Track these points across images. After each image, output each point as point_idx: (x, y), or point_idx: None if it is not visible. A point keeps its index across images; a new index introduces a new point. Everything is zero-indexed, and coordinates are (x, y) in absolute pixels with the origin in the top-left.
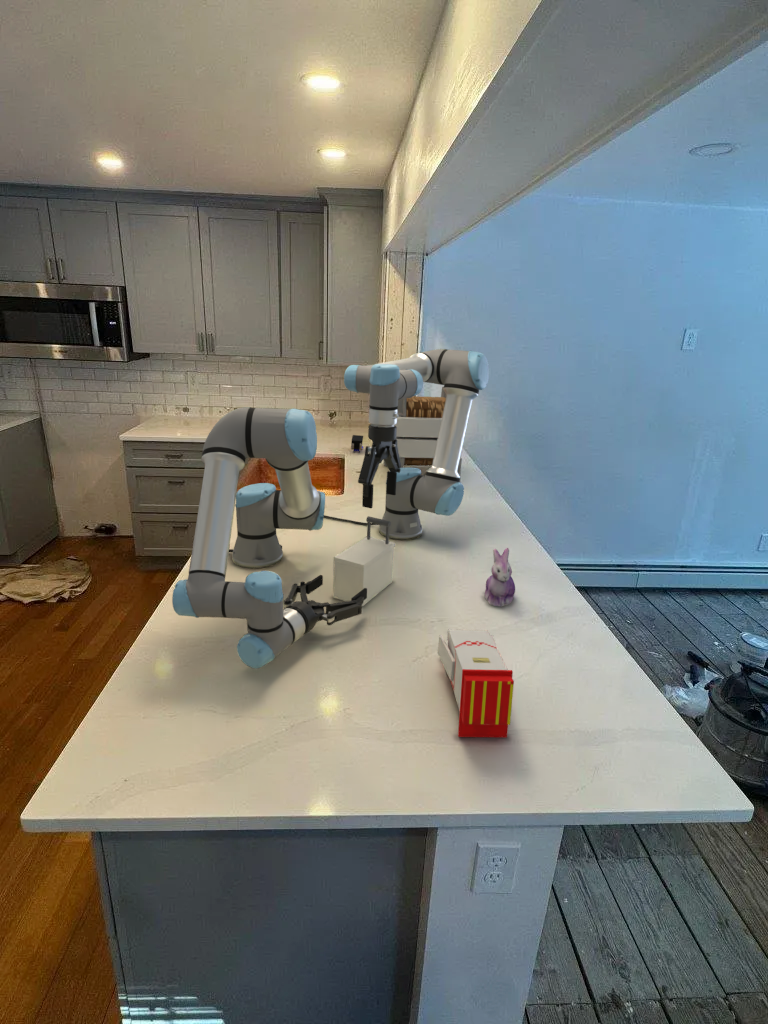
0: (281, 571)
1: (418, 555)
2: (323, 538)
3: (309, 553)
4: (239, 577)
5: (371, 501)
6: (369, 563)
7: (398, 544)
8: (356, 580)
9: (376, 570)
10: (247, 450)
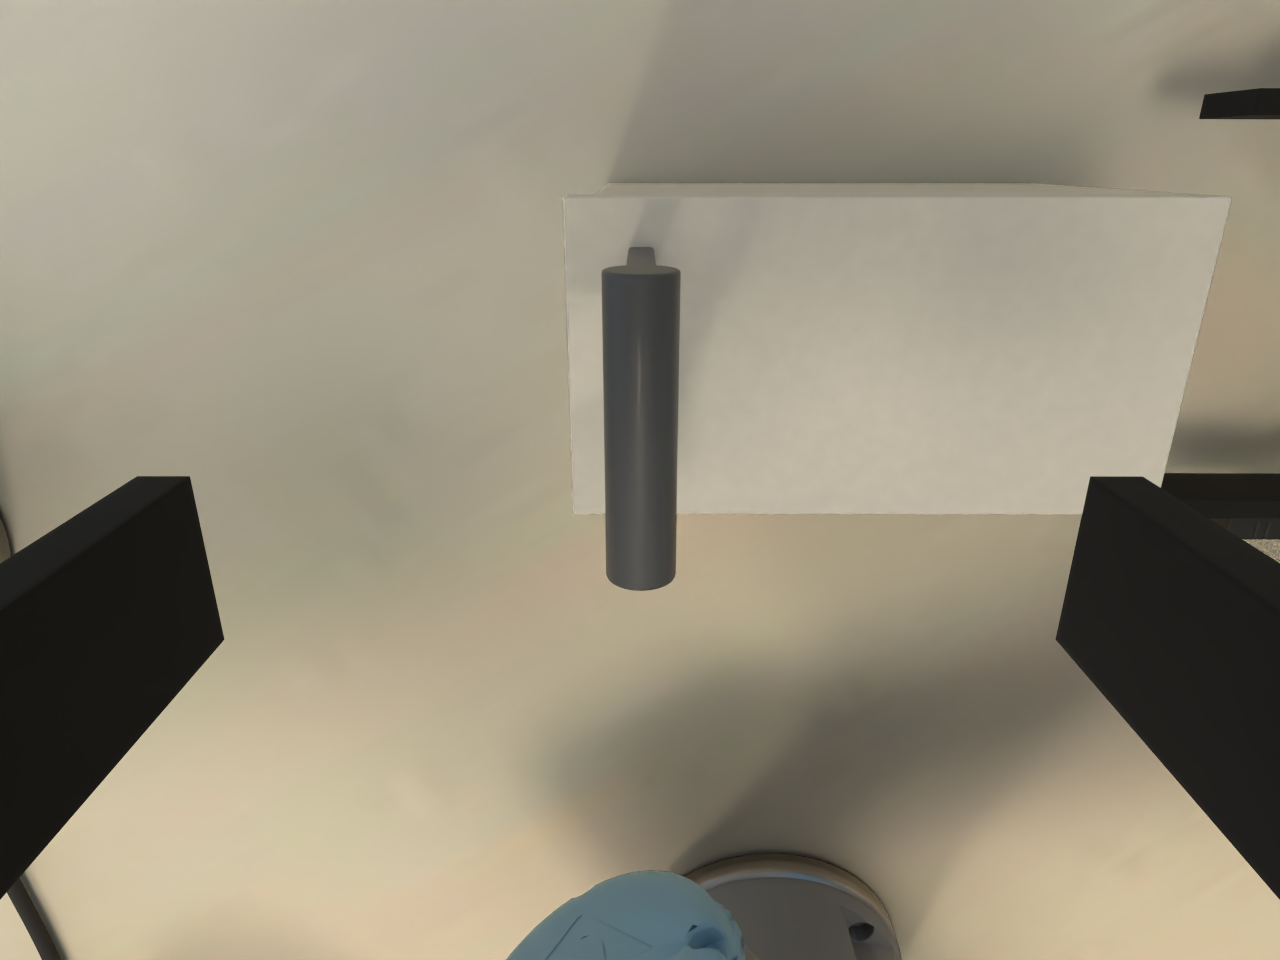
0: (835, 791)
1: (86, 222)
2: (326, 846)
3: (554, 800)
4: (992, 896)
5: (1225, 535)
6: (1109, 195)
7: (38, 442)
8: None
9: (917, 190)
10: None
